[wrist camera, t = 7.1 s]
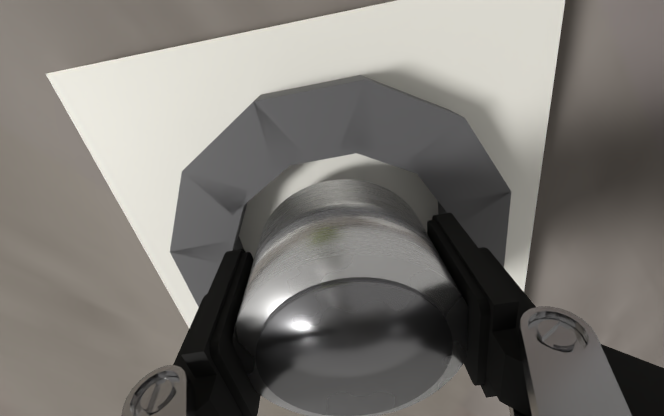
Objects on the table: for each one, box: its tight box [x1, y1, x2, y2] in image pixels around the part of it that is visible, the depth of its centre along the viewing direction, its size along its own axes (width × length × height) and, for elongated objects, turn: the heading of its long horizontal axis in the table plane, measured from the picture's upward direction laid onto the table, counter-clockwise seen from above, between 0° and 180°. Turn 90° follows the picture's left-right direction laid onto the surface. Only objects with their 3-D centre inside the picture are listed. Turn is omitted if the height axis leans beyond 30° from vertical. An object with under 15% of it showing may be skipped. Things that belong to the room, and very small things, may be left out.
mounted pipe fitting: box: [46, 0, 565, 328], centre depth 12 cm, size 15×15×2 cm
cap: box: [232, 179, 469, 416], centre depth 10 cm, size 6×6×4 cm
